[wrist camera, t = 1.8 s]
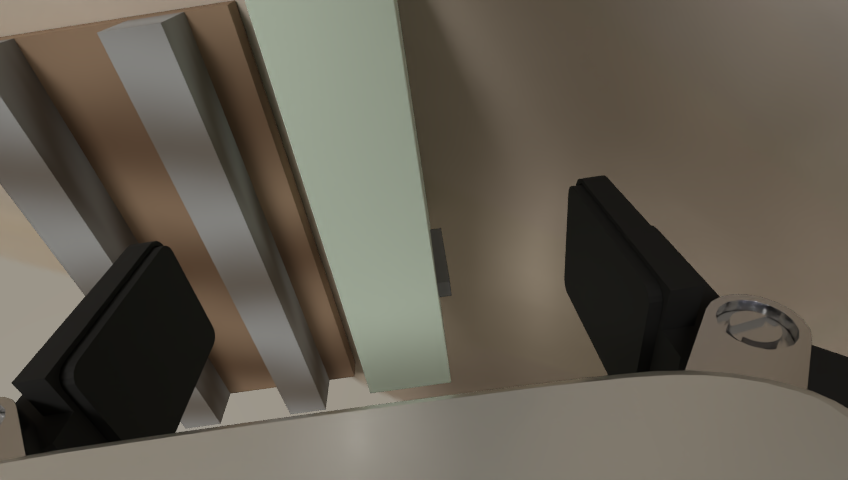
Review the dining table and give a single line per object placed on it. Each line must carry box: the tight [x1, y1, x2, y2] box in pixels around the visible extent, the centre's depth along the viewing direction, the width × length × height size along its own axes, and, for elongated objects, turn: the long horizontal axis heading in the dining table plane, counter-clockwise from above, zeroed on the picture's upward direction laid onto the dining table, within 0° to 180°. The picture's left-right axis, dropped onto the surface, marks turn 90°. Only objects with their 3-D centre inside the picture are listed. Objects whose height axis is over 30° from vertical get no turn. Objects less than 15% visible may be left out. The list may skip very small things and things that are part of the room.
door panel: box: [245, 0, 452, 393], centre depth 15 cm, size 12×3×10 cm, turn 7°
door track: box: [0, 1, 355, 428], centre depth 21 cm, size 20×11×3 cm, turn 7°
